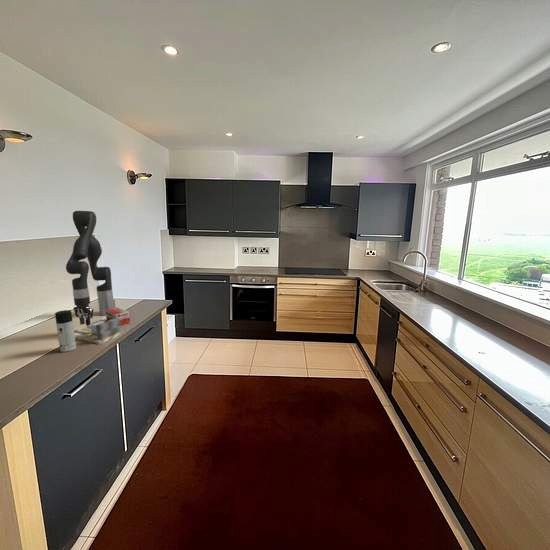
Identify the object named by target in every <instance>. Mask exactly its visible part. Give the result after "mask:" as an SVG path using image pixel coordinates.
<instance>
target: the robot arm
mask: <svg viewBox="0 0 550 550" xmlns="http://www.w3.org/2000/svg"><path fill="white" fill-rule="evenodd" d="M96 215H97V214H96V213H95V212H94V211H91V210H89V211H88V210H75V211H73V212H72V221H73V224H74V226H75V228H76V230H77V233H78V235H79V237H78V238H77V239H76V240H75V242H74V244H73V248H72V253H71V255H70V257H69V259H68V261H67V263H66V265H65V271H66V272H67V273H68V274H69V275H79V277H76V278H73V279H72V280H71V284H72V294H73V295H72V296H73V303H74V307H73V311H74V314H75V316H76V318H78V319H79V324H80V325H84V324H85V326H86V327H87V326H91V319H93V318H94V317H93V316H94V308H93V307H92V308H90V306H89V305H90V304H91V299H90V297H91V296H90V291H89V288H88V275H89V271H90V273H91V277H92V279H93V280H94V281H97V282H98V281H100V282H101V281H104V282H103V283H102V284H100V285H97V286H96V295H97V304H98V310H99V311H98V312H99V316H106V311H105V310H109V309H113V308H117V306H116V300H115V298H114V295H113V294H114V293H113V283H112V271H111V268H110V267H109V266H97V263H98V261H99V259H100V257H101V256H102V254H103V250H102V246H101V244H100V242H99V240H98V239H97V238H96V237H95V236H94V235H93V234H94V231H95V228H96V224H97V216H96ZM85 259H87V261H88V262H86V261H83V260H85Z"/></svg>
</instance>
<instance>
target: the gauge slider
mask: <svg viewBox="0 0 550 550" xmlns="http://www.w3.org/2000/svg"><path fill="white" fill-rule="evenodd" d="M103 322H104V321H102V320H101V321H98V322H97V321H96V322H95V323H92V324H90V326H91V330H92V333H91V334H97V330H96V325H98V324H101V323H103ZM91 334H88V335H87V336H89V335H91Z"/></svg>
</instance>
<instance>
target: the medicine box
mask: <svg viewBox="0 0 550 550" xmlns="http://www.w3.org/2000/svg"><path fill="white" fill-rule="evenodd" d="M105 311H106V315H105V316H106V317H105V318H106V321H109V320H112V319H115V318H118V319H119V320H120V326H123V325H126V324H131V317H130V312H129V310H125V309H123V308H120V307H116V308H113V309H109V310H105Z"/></svg>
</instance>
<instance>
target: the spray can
mask: <svg viewBox="0 0 550 550" xmlns="http://www.w3.org/2000/svg"><path fill="white" fill-rule="evenodd" d="M54 316H55V323H56V330H57V337H58V338H57V339H58V343H59V350H60V352H61V353H66V352H67V353H68V352H72V351H74V350H76V349H77V344H76V343H77V342H76V339H75V335H74V330H75V329H74V320H73V314H72V310H70V309H67V310H59V311H56V312H55V314H54Z"/></svg>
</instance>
